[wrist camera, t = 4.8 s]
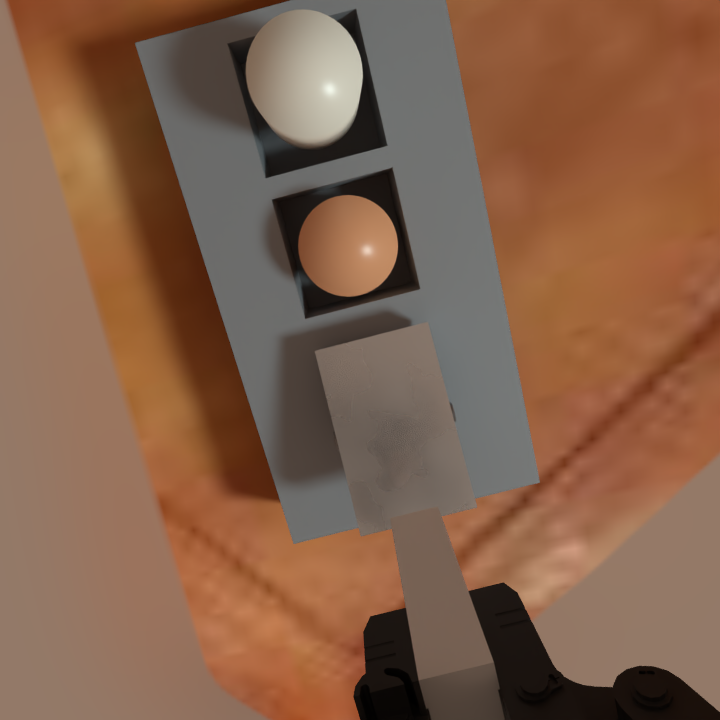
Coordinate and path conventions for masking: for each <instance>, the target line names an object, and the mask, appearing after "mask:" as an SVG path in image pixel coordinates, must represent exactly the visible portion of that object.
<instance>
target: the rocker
mask: <svg viewBox="0 0 720 720" xmlns="http://www.w3.org/2000/svg"><path fill="white" fill-rule="evenodd" d="M315 354H316V358H317V362H318V366H319V370H320V374H321V378H322V382H323V386H324V391H325V395H326V399H327V403H328V407H329V411H330V415H331V419H332V423H333V427H334V432H333V437H334V442H335V446H336V449H337V451H340V455H341V459H342V463H343V467H344V471H345V475H346V479H347V483H348V487H349V491H350V495H351V499H352V503H353V507H354V511H355V515H356V519H357V523H358V527H359V531H360V535H361V536H364V535H368V534H372V533H376V532H380V531H384V530H388V529H392V526H391V520H390V518H392V517H396V516H400V515H404V514H408V513H412V512H416V511H420V510H424V509H429V508H433V507H437V506H438V508H439V511H440V514H441V516H445V515H449V514H453V513H457V512H461V511H465V510H469V509H473V508H477V505H476V501H475V497H474V494H473V490H472V486H471V482H470V479H469V475H468V471H467V467H466V464H465V460H464V456H463V452H462V448H461V445H460V441H459V437H458V433H457V430H456V426H455V422H456V416H455V412H454V409H453V406H452V403H451V402H449V399H448V396H447V392H446V388H445V384H444V381H443V377H442V373H441V369H440V366H439V362H438V358H437V354H436V351H435V347H434V343H433V339H432V335H431V332H430V328H429V324H428V322H425V323H421V324H417V325H414V326H410V327H406V328H402V329H398V330H394V331H390V332H386V333H382V334H379V335H375V336H371V337H367V338H363V339H359V340H355V341H351V342H348V343H344V344H340V345H336V346H332V347H328V348H324V349H320V350H316V351H315Z"/></svg>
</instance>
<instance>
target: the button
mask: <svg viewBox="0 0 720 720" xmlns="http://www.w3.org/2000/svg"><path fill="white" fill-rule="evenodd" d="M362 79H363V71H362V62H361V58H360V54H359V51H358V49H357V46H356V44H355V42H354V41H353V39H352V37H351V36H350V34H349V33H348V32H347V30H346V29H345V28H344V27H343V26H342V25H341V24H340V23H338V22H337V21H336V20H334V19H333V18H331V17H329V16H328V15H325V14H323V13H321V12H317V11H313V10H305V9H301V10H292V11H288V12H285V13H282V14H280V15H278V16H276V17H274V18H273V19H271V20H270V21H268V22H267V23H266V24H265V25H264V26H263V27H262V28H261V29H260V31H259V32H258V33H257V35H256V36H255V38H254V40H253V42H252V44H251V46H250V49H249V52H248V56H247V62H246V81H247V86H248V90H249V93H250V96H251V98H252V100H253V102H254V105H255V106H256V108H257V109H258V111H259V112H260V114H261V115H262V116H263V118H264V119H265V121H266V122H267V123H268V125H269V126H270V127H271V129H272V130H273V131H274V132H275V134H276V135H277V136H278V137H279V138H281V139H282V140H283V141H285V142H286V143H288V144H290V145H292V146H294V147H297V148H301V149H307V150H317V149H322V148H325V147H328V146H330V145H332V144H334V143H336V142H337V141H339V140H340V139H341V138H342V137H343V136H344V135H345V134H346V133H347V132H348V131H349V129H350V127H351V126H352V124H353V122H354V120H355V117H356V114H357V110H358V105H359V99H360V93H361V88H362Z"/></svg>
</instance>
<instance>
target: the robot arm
mask: <svg viewBox="0 0 720 720" xmlns="http://www.w3.org/2000/svg"><path fill="white" fill-rule="evenodd" d="M390 520H391V526H392V532H393V537H394V543H395V549H396V554H397V560H398V566H399V571H400V577H401V583H402V588H403V594H404V600H405V606H406V608H403V609H399V610H395V611H391V612H387V613H383V614H379V615H374V616H370V619H369V621H368V623H367V625H366V627H365V630H364V632H363V633H364V648H365V662H366V663H365V668H366V674H365V675H363V676H362V677H361V679H360V680H359V682H358V683H357V685H356V686H355V691H354V696H353V697H354V700H355V703H356V707H357V710H358V713H359V717H360V720H720V712H719V711H718V710H716V709H715V708H714V707H713V706H712V705H711V704H709V703H708V702H707V701H706V700H705V699H704V698H702V697H701V696H700V695H699V694H698V693H697V692H695V691H694V690H693V689H692V688H691V687H689V686H688V685H687V684H686V683H685V682H684V681H682V680H681V679H680V678H679V677H677V676H675V675H674V674H672V673H670V672H669V671H667V670H664V669H660V668H657V667H652V666H637V667H633V668H630V669H626V670H625V671H624V672H622V673H621V674H620V675H618V676H617V678H616V680H615V682H614V685H613V687H594V686H586V685H582V684H578V683H575V682H573V681H571V680H569V679H567V678H565V677H564V676H563V675H562V674H561V672H559V671H557V670H556V668H555V667H554V665H553V664H552V662H551V660H550V658H549V656H548V654H547V652H546V649H545V647H544V646H543V643H542V641H541V639H540V637H539V635H538V633H537V631H536V629H535V627H534V625H533V623H532V622H531V620H530V617H529V615H528V613H527V611H526V610H525V607H524V605H523V603H522V601H521V599H520V597H519V595H518V593H517V592H516V591H514V590H513V589H512V588H510V587H509V586H507V585H506V584H505V583H500V584H496V585H491V586H487V587H483V588H479V589H475V590H471V591H468V589H467V586H466V584H465V581H464V578H463V575H462V572H461V570H460V567H459V564H458V561H457V558H456V556H455V553H454V550H453V547H452V545H451V542H450V539H449V536H448V533H447V531H446V528H445V525H444V522H443V520H442V517H441V514H440V511H439V508H438V506H437V507H433V508H429V509H424V510H420V511H416V512H412V513H408V514H404V515H400V516H396V517H392V518H390Z"/></svg>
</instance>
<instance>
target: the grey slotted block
mask: <svg viewBox="0 0 720 720" xmlns="http://www.w3.org/2000/svg"><path fill="white" fill-rule="evenodd" d="M301 9H305V10H313V11H317V12H321V13H323V14H325V15H328V16H329V17H331V18H333V19H334V20H336V21H337V22H338V23H340V24H341V25H342V26H343V27H344V28H345V29H346V30H347V32H348V33H349V34H350V36H351V37H352V39H353V41H354V42H355V44H356V46H357V49H358V51H359V54H360V58H361V62H362V71H363V79H362V88H361V93H360V99H359V105H358V110H357V114H356V117H355V120H354V122H353V124H352V126H351V127H350V129H349V131H348V132H347V133H346V134H345V135H344V136H343V137H342V138H341V139H340V140H339V141H337V142H336V143H334V144H332V145H330V146H328V147H325V148H322V149H317V150H307V149H301V148H297V147H294V146H292V145H290V144H288V143H286V142H285V141H283V140H282V139H281V138H279V137H278V136H277V135H276V134H275V132H274V131H273V130H272V129H271V127H270V126H269V125H268V123H267V122H266V121H265V119H264V118H263V116H262V115H261V114H260V112H259V111H258V109H257V108H256V106H255V105H254V102H253V100H252V98H251V96H250V93H249V90H248V86H247V81H246V62H247V56H248V52H249V49H250V46H251V44H252V42H253V40H254V38H255V36H256V35H257V33H258V32H259V31H260V29H261V28H262V27H263V26H264V25H265V24H266V23H267V22H268V21H270V20H271V19H273V18H274V17H276V16H278V15H280V14H282V13H285V12H288V11H292V10H301ZM135 45H136V48H137V51H138V55H139V58H140V61H141V64H142V67H143V70H144V73H145V77H146V80H147V83H148V86H149V89H150V92H151V96H152V99H153V102H154V105H155V108H156V111H157V114H158V118H159V121H160V124H161V127H162V130H163V133H164V136H165V140H166V143H167V146H168V149H169V152H170V155H171V159H172V162H173V165H174V168H175V171H176V174H177V177H178V181H179V184H180V187H181V190H182V193H183V196H184V199H185V203H186V206H187V209H188V212H189V215H190V218H191V222H192V225H193V228H194V231H195V234H196V237H197V240H198V244H199V247H200V250H201V253H202V256H203V259H204V262H205V266H206V269H207V272H208V275H209V278H210V281H211V285H212V288H213V291H214V294H215V297H216V300H217V303H218V307H219V310H220V313H221V316H222V319H223V322H224V325H225V329H226V332H227V335H228V338H229V341H230V344H231V348H232V351H233V354H234V357H235V360H236V363H237V366H238V370H239V373H240V376H241V379H242V382H243V385H244V388H245V392H246V395H247V398H248V401H249V404H250V407H251V411H252V414H253V417H254V420H255V423H256V426H257V429H258V433H259V436H260V439H261V442H262V445H263V448H264V451H265V455H266V458H267V461H268V464H269V467H270V470H271V474H272V477H273V480H274V483H275V486H276V489H277V492H278V496H279V499H280V502H281V505H282V508H283V511H284V515H285V518H286V521H287V524H288V527H289V530H290V533H291V537H292V540H293V543H294V544H295V543H299V542H303V541H307V540H311V539H315V538H319V537H323V536H327V535H331V534H335V533H339V532H343V531H347V530H351V529H355V528H359V527H358V523H357V519H356V515H355V511H354V507H353V503H352V499H351V495H350V491H349V487H348V483H347V479H346V475H345V471H344V467H343V463H342V459H341V455H340V451H337V449H336V446H335V442H334V437H333V432H334V427H333V423H332V419H331V415H330V411H329V407H328V403H327V399H326V395H325V391H324V386H323V382H322V378H321V374H320V370H319V366H318V362H317V358H316V354H315V351H316V350H320V349H324V348H328V347H332V346H336V345H340V344H344V343H348V342H351V341H355V340H359V339H363V338H367V337H371V336H375V335H379V334H382V333H386V332H390V331H394V330H398V329H402V328H406V327H410V326H414V325H417V324H421V323H425V322H428V324H429V328H430V332H431V335H432V339H433V343H434V347H435V351H436V354H437V358H438V362H439V366H440V369H441V373H442V377H443V381H444V384H445V388H446V392H447V396H448V399H449V402H451V403H452V406H453V409H454V412H455V416H456V422H455V426H456V430H457V433H458V437H459V441H460V445H461V448H462V452H463V456H464V460H465V464H466V467H467V471H468V475H469V479H470V482H471V486H472V490H473V494H474V497H475V498H479V497H483V496H487V495H491V494H495V493H499V492H503V491H507V490H511V489H515V488H519V487H523V486H527V485H531V484H535V483H539V482H540V481H539V476H538V471H537V466H536V461H535V455H534V450H533V445H532V440H531V435H530V430H529V425H528V420H527V414H526V409H525V404H524V399H523V394H522V389H521V384H520V378H519V373H518V368H517V363H516V358H515V353H514V348H513V343H512V337H511V332H510V327H509V322H508V317H507V312H506V307H505V302H504V296H503V291H502V286H501V281H500V276H499V271H498V266H497V260H496V255H495V250H494V245H493V240H492V235H491V230H490V225H489V219H488V214H487V209H486V204H485V199H484V194H483V189H482V183H481V178H480V173H479V168H478V163H477V158H476V153H475V148H474V142H473V137H472V132H471V127H470V122H469V117H468V112H467V106H466V101H465V96H464V91H463V86H462V81H461V76H460V71H459V65H458V60H457V55H456V50H455V45H454V40H453V35H452V29H451V24H450V19H449V14H448V9H447V4H446V0H290V1H287V2H283V3H279V4H276V5H272V6H268V7H265V8H261V9H257V10H254V11H250V12H246V13H243V14H239V15H235V16H232V17H228V18H224V19H221V20H217V21H213V22H210V23H206V24H202V25H199V26H195V27H191V28H188V29H184V30H180V31H177V32H173V33H169V34H166V35H162V36H158V37H155V38H151V39H147V40H144V41H140V42H136V43H135ZM342 195H354V196H359V197H363V198H366V199H368V200H370V201H372V202H374V203H375V204H377V205H378V206H379V207H380V208H382V209H383V210H384V211H385V213H386V214H387V215H388V216H389V218H390V220H391V221H392V223H393V225H394V228H395V231H396V234H397V240H398V252H397V258H396V261H395V264H394V267H393V269H392V271H391V273H390V274H389V276H388V277H387V278H386V279H385V280H384V282H383V283H382V284H380V285H379V286H378V287H377V288H375V289H374V290H372V291H370V292H368V293H365V294H362V295H358V296H350V297H346V296H338V295H334V294H331V293H329V292H327V291H325V290H323V289H321V288H320V287H318V286H317V285H316V284H315V283H314V282H313V281H312V280H311V279H310V278H309V276H308V275H307V274H306V272H305V270H304V268H303V266H302V263H301V261H300V256H299V250H298V242H299V235H300V231H301V228H302V225H303V223H304V221H305V219H306V218H307V216H308V215H309V214H310V213H311V211H312V210H313V209H314V208H315V207H317V206H318V205H319V204H321V203H322V202H324V201H326V200H328V199H330V198H333V197H337V196H342Z"/></svg>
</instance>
